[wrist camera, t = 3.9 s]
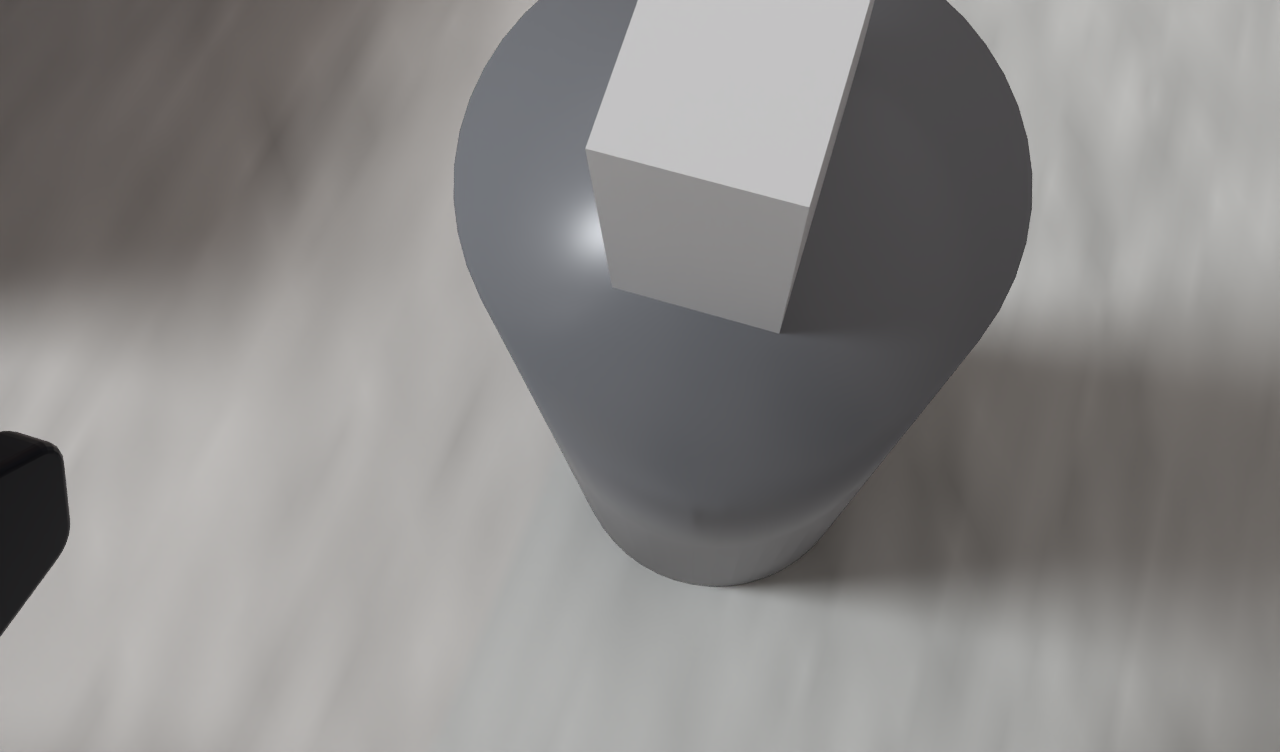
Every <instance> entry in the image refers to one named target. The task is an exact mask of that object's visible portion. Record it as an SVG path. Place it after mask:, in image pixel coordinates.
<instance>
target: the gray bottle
mask: <svg viewBox="0 0 1280 752" xmlns="http://www.w3.org/2000/svg"><path fill="white" fill-rule="evenodd" d="M454 206H455V214H456V222H457V230H458V235H459V239H460V243H461V246H462V250H463V254H464V257H465V261H466V265H467V268H468V270H469V272H470V275H471V277H472V279H473V282H474V284H475V286H476V289H477V291H478V293H479V296H480V298H481V300H482V302H483V304H484V306H485V308H486V309H487V311H488V313H489V315H490V317H491V319H492V321H493V323H494V325H495V326H496V328H497V330H498V332H499V334H500V336H501V338H502V340H503V342H504V344H505V345H506V347H507V349H508V351H509V353H510V355H511V357H512V359H513V361H514V362H515V364H516V366H517V368H518V370H519V372H520V374H521V376H522V378H523V380H524V381H525V383H526V385H527V387H528V389H529V391H530V393H531V395H532V397H533V398H534V400H535V402H536V404H537V406H538V408H539V410H540V412H541V414H542V416H543V417H544V419H545V421H546V423H547V425H548V427H549V429H550V431H551V433H552V434H553V436H554V438H555V440H556V442H557V444H558V446H559V448H560V450H561V451H562V453H563V455H564V457H565V459H566V461H567V463H568V465H569V467H570V469H571V470H572V472H573V474H574V476H575V478H576V480H577V482H578V484H579V486H580V487H581V489H582V491H583V493H584V495H585V497H586V499H587V501H588V503H589V505H590V506H591V508H592V510H593V512H594V514H595V516H596V517H597V519H598V520H599V522H600V524H601V525H602V527H603V529H604V530H605V531H606V532H607V534H608V535H609V536H610V537H611V539H612V540H613V541H614V542H615V543H616V544H617V545H618V546H619V547H620V548H621V549H622V550H623V551H624V552H625V553H626V554H627V555H629V556H630V557H632V558H633V559H634V560H636V561H637V562H638V563H640V564H641V565H643V566H645V567H646V568H648V569H650V570H652V571H654V572H656V573H657V574H660V575H663V576H665V577H668V578H670V579H673V580H676V581H680V582H684V583H688V584H693V585H702V586H732V585H738V584H744V583H749V582H752V581H755V580H759V579H762V578H765V577H767V576H770V575H772V574H774V573H776V572H778V571H780V570H782V569H784V568H786V567H787V566H789V565H790V564H792V563H793V562H795V561H797V560H798V559H799V558H800V557H801V556H803V555H804V554H805V553H806V552H807V551H809V550H810V549H811V548H812V547H813V546H814V544H815V543H816V542H817V541H818V540H819V539H820V538H821V537H822V536H823V534H824V533H825V532H826V531H827V529H828V528H829V527H830V526H831V524H832V523H833V522H834V521H835V519H836V518H837V517H838V516H839V515H840V513H841V512H842V511H843V510H844V508H845V507H846V506H847V505H848V503H849V502H850V501H851V500H852V498H853V497H854V496H855V495H856V493H857V492H858V491H859V490H860V488H861V487H862V486H863V485H864V483H865V482H866V481H867V480H868V478H869V477H870V476H871V475H872V473H873V472H874V471H875V470H876V468H877V467H878V466H879V465H880V463H881V462H882V461H883V460H884V458H885V457H886V456H887V455H888V453H889V452H890V451H891V450H892V448H893V447H894V446H895V445H896V443H897V442H898V441H899V440H900V438H901V437H902V436H903V435H904V434H905V432H906V431H907V430H908V429H909V427H910V426H911V425H912V424H913V422H914V421H915V420H916V419H917V417H918V416H919V415H920V414H921V412H922V411H923V410H924V409H925V407H926V406H927V405H928V404H929V402H930V401H931V400H932V399H933V397H934V396H935V395H936V394H937V392H938V391H939V390H940V389H941V387H942V386H943V385H944V384H945V382H946V381H947V380H948V379H949V377H950V376H951V375H952V374H953V372H954V371H955V370H956V369H957V367H958V366H959V365H960V364H961V362H962V361H963V360H964V359H965V358H966V356H967V355H968V354H969V353H970V351H971V350H972V349H973V348H974V346H975V345H976V344H977V343H978V341H979V340H980V338H981V337H982V335H983V334H984V332H985V331H986V330H987V328H988V327H989V325H990V324H991V322H992V321H993V319H994V318H995V316H996V315H997V313H998V312H999V310H1000V308H1001V306H1002V304H1003V302H1004V300H1005V298H1006V296H1007V294H1008V292H1009V290H1010V288H1011V286H1012V283H1013V281H1014V279H1015V277H1016V274H1017V271H1018V268H1019V264H1020V261H1021V258H1022V255H1023V252H1024V249H1025V245H1026V241H1027V235H1028V229H1029V222H1030V216H1031V210H1032V169H1031V161H1030V154H1029V146H1028V139H1027V135H1026V132H1025V128H1024V125H1023V121H1022V118H1021V114H1020V111H1019V107H1018V104H1017V102H1016V100H1015V98H1014V95H1013V93H1012V91H1011V88H1010V86H1009V84H1008V82H1007V79H1006V77H1005V75H1004V73H1003V71H1002V70H1001V68H1000V67H999V65H998V63H997V62H996V60H995V58H994V57H993V55H992V53H991V52H990V50H989V49H988V47H987V45H986V44H985V43H984V41H983V40H982V39H981V38H980V37H979V35H978V34H977V33H976V32H975V30H974V29H973V28H972V27H971V25H970V24H969V23H968V22H967V21H966V19H965V18H964V17H963V16H962V15H961V14H960V13H959V12H958V11H957V10H956V9H955V8H953V7H952V6H951V5H950V4H949V3H948V2H947V1H946V0H539V1H538V2H536V3H535V4H534V5H533V6H532V7H531V8H530V9H529V10H528V11H527V12H526V13H525V14H524V15H523V16H522V17H521V18H520V19H519V21H518V22H517V23H516V24H515V25H514V27H513V28H512V29H511V30H510V31H509V32H508V34H507V35H506V36H505V37H504V38H503V40H502V41H501V43H500V44H499V46H498V47H497V49H496V50H495V52H494V54H493V55H492V57H491V58H490V60H489V61H488V63H487V64H486V66H485V68H484V70H483V72H482V74H481V76H480V78H479V80H478V82H477V84H476V87H475V89H474V91H473V93H472V95H471V97H470V100H469V103H468V106H467V109H466V113H465V116H464V119H463V122H462V125H461V129H460V133H459V139H458V145H457V151H456V157H455V163H454Z"/></svg>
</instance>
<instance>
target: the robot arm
mask: <svg viewBox="0 0 1280 752" xmlns="http://www.w3.org/2000/svg"><path fill="white" fill-rule="evenodd" d="M69 530H70V515H69V506H68V496H67V487H66V477H65V468H64V460H63V456H62V454H61V452H60V451H59V449H58V448H57V446H55V445H53V444H52V443H50V442H47V441H44V440H41V439H38V438H34V437H31V436H28V435H25V434H21V433H18V432H12V431H2V432H0V636H1V635H2V634H3V632H4V631H5V630H6V628H7V627H8V626H9V624H10V623H11V621H12V620H13V619H14V617H15V616H16V615H17V613H18V612H19V611H20V609H21V608H22V606H23V605H24V604H25V602H26V601H27V600H28V598H29V597H30V596H31V594H32V593H33V591H34V590H35V589H36V587H37V586H38V585H39V583H40V582H41V581H42V579H43V578H44V576H45V575H46V574H47V572H48V571H49V570H50V568H51V567H52V566H53V564H54V563H55V562H56V560H57V559H58V557H59V556H60V554H61V553H62V551H63V549H64V547H65V545H66V542H67V539H68V536H69Z"/></svg>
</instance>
